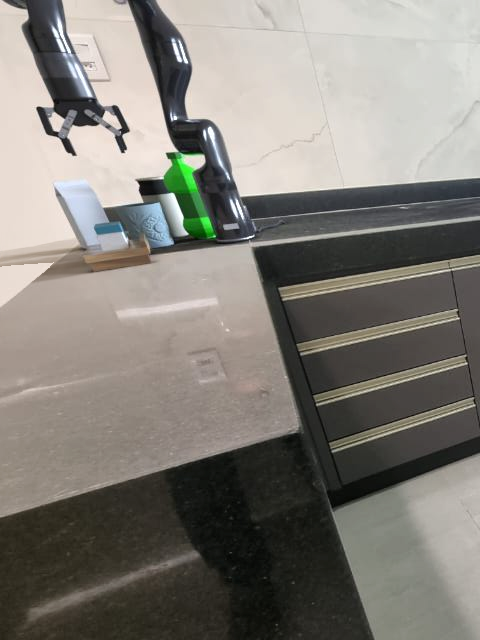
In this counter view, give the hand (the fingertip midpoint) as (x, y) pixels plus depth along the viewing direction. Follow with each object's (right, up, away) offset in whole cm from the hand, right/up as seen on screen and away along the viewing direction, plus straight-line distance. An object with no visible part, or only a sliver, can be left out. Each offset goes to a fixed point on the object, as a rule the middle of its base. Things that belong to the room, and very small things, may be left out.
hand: (99, 154), depth 125 cm
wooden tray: (-8, -23, +14) cm, 28 cm away
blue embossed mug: (-16, -15, +32) cm, 39 cm away
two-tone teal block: (-8, -19, +12) cm, 24 cm away
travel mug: (-22, -9, +45) cm, 51 cm away
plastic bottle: (-8, -10, +41) cm, 43 cm away
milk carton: (-35, -15, +34) cm, 51 cm away
